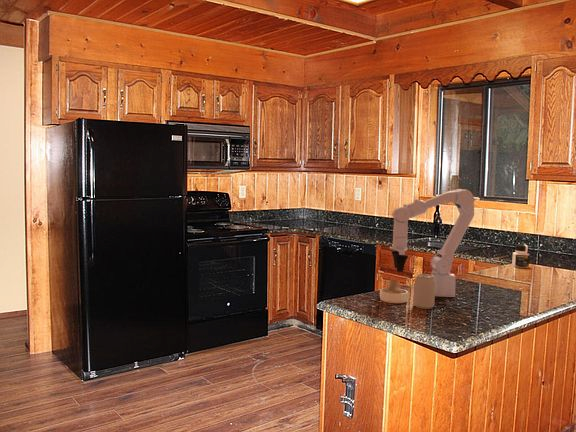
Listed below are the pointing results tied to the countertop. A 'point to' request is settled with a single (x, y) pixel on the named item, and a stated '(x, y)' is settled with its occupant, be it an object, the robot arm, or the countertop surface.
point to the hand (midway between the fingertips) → (398, 269)
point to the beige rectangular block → (393, 286)
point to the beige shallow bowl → (394, 296)
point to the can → (424, 291)
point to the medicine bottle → (521, 256)
